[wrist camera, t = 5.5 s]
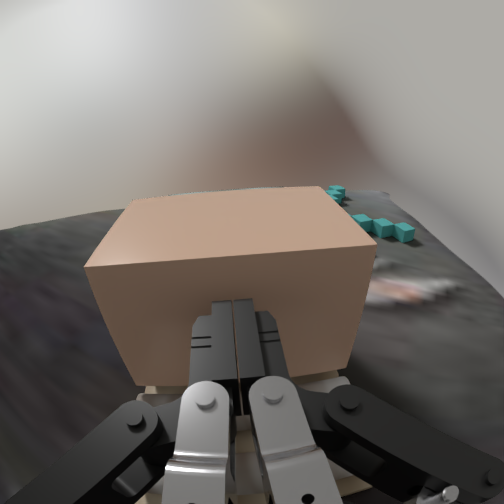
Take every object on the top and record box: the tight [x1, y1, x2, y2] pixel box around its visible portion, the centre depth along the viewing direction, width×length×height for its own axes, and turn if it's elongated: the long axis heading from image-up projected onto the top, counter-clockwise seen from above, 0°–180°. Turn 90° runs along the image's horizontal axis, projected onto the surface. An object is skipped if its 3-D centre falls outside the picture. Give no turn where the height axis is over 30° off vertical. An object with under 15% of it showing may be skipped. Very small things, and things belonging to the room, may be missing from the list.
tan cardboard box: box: [84, 186, 377, 386], centre depth 16 cm, size 12×8×8 cm, turn 96°
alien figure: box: [325, 185, 415, 243], centre depth 41 cm, size 20×2×20 cm
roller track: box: [135, 187, 373, 504], centre depth 20 cm, size 13×27×8 cm, turn 6°
